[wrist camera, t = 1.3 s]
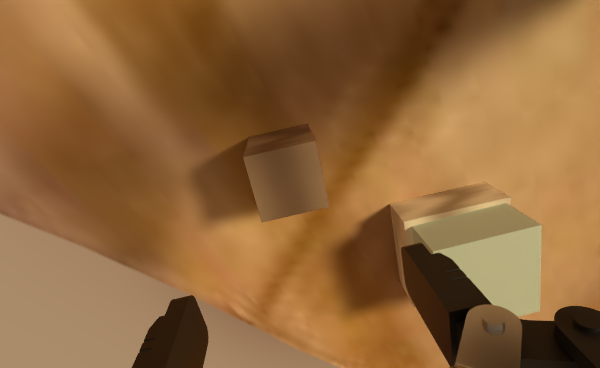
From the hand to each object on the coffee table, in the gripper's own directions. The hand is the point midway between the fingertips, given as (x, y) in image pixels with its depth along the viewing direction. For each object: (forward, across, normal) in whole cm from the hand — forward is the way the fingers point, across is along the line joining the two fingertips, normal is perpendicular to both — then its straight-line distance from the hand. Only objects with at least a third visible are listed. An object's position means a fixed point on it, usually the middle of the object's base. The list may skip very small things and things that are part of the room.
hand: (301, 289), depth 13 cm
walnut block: (+18, 0, 0) cm, 18 cm away
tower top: (+14, -13, +11) cm, 22 cm away
